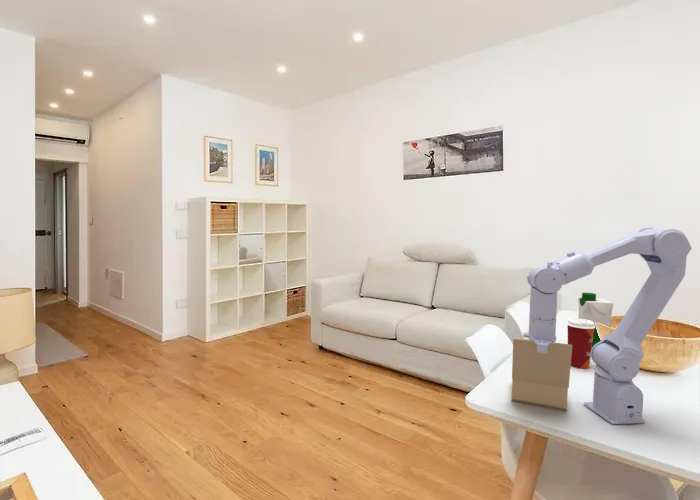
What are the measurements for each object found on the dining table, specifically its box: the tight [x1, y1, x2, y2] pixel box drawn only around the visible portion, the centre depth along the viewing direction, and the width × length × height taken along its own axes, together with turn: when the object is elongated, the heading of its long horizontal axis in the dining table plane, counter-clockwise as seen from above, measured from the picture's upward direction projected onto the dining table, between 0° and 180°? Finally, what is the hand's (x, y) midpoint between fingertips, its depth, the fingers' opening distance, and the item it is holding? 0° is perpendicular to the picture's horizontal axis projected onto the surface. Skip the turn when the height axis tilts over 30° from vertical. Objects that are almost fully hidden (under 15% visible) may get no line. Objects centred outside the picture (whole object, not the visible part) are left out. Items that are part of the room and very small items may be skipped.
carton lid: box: [511, 337, 572, 389], centre depth 92 cm, size 11×12×1 cm
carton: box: [511, 378, 569, 412], centre depth 99 cm, size 11×12×6 cm
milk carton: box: [577, 292, 614, 350], centre depth 131 cm, size 9×9×20 cm
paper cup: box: [566, 317, 595, 370], centre depth 120 cm, size 8×8×14 cm
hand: (540, 373), depth 93 cm, fingers closed
